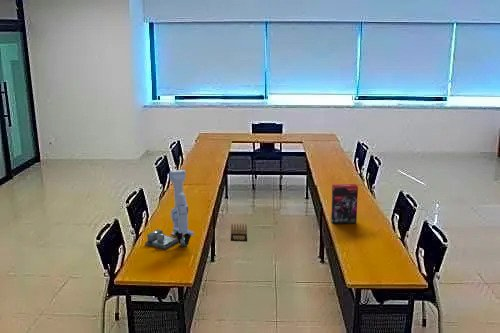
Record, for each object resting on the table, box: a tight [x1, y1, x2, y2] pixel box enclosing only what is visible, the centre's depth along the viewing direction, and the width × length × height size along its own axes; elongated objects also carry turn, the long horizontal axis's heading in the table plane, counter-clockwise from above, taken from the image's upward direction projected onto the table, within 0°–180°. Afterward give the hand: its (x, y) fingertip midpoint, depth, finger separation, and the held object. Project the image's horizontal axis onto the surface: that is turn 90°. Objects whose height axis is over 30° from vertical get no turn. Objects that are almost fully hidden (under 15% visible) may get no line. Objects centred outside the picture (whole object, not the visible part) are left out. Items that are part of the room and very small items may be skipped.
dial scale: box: [144, 228, 179, 251], centre depth 334 cm, size 15×16×6 cm
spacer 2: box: [179, 236, 188, 248], centre depth 330 cm, size 4×4×5 cm
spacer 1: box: [157, 232, 165, 243], centre depth 329 cm, size 4×4×5 cm
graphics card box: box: [330, 183, 359, 225], centre depth 366 cm, size 17×7×27 cm, turn 96°
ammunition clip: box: [230, 223, 248, 243], centre depth 337 cm, size 11×2×12 cm, turn 85°
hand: (183, 243), depth 330 cm, fingers closed on spacer 2, 4 cm apart
